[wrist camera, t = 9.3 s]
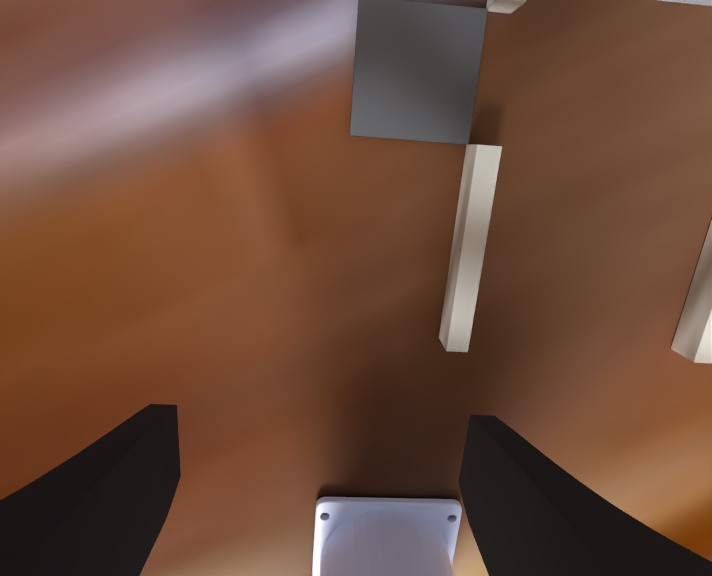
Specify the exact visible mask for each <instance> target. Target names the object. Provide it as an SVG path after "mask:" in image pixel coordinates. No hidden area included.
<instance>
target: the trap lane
mask: <svg viewBox="0 0 712 576" xmlns="http://www.w3.org/2000/svg"><path fill="white" fill-rule="evenodd" d="M525 2H526V0H487V4H486V9H484V8H474V7H464V6H455V5H445V4H436V3H426V2H416V1H407V0H359V3H358V18H357V33H356V48H355V63H354V78H353V93H352V108H351V123H350V135H354V136H366V137H379V138H391V139H404V140H416V141H428V142H441V143H453V144H466V151H465V158H464V165H463V172H462V179H461V186H460V193H459V200H458V207H457V214H456V221H455V228H454V235H453V242H452V249H451V256H450V263H449V270H448V277H447V284H446V291H445V298H444V305H443V312H442V319H441V326H440V333H439V339H440V341H441V343H442V344H443V346H444V348H445V350H446V351H451V352H468V348H469V342H470V336H471V330H472V324H473V318H474V312H475V306H476V300H477V294H478V288H479V282H480V276H481V270H482V264H483V258H484V252H485V246H486V240H487V234H488V228H489V222H490V216H491V210H492V204H493V198H494V192H495V186H496V180H497V174H498V168H499V162H500V156H501V150H502V146H490V145H468V144H469V138H470V131H471V124H472V117H473V110H474V103H475V96H476V89H477V82H478V75H479V68H480V61H481V54H482V47H483V40H484V34H485V27H486V20H487V13H488V11H489V12H498V13H508V14H510V13H512V12H513V11H515V10H516V9H517V8H519V7H520V6H521V5H523V4H524V3H525ZM671 349H672V350H674V351H675V352H677V353H679V354H680V355H682V356H684V357H685V358H687V359H689V360H690V361H692V362H696V363H712V220H711V223H710V226H709V230H708V233H707V236H706V239H705V242H704V245H703V248H702V252H701V255H700V258H699V261H698V264H697V267H696V270H695V274H694V277H693V280H692V283H691V286H690V289H689V292H688V296H687V299H686V302H685V305H684V308H683V311H682V314H681V318H680V321H679V324H678V327H677V330H676V333H675V337H674V340H673V343H672V346H671Z"/></svg>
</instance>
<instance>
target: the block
mask: <svg viewBox="0 0 712 576" xmlns="http://www.w3.org/2000/svg"><path fill="white" fill-rule="evenodd" d="M659 1H669V2H679V3H689V4H698V5H708V6H712V0H659Z"/></svg>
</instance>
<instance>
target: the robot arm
mask: <svg viewBox="0 0 712 576" xmlns="http://www.w3.org/2000/svg"><path fill="white" fill-rule="evenodd" d="M180 476H181V474H180V456H179V438H178V420H177V405H161V404H150V405H148V406H147V407H145V408H144V409H142V410H141V411H139V412H138V413H136V414H135V415H133V416H132V417H130V418H129V419H127V420H126V421H125V422H123V423H122V424H120V425H119V426H117V427H116V428H114V429H113V430H112V431H110V432H109V433H107V434H106V435H104V436H103V437H101V438H100V439H98V440H97V441H96V442H94V443H93V444H91V445H90V446H88V447H87V448H85V449H84V450H82V451H81V452H79V453H78V454H76V455H75V456H73V457H72V458H70V459H68V460H67V461H65V462H64V463H62V464H60V465H59V466H57V467H56V468H54V469H52V470H51V471H49V472H48V473H46V474H44V475H43V476H41V477H40V478H38V479H36V480H35V481H33V482H32V483H30V484H28V485H26V486H25V487H23V488H21V489H20V490H18V491H16V492H14V493H13V494H11V495H9V496H7V497H5V498H4V499H2V500H0V576H139V575H140V573H141V571H142V569H143V567H144V565H145V563H146V561H147V558H148V556H149V554H150V552H151V550H152V548H153V546H154V544H155V541H156V539H157V537H158V535H159V533H160V531H161V529H162V527H163V524H164V522H165V520H166V518H167V515H168V512H169V509H170V506H171V504H172V501H173V498H174V495H175V492H176V488H177V485H178V482H179V479H180ZM459 486H460V490H461V494H462V498H463V503H464V506H465V510H466V514H467V518H468V522H469V524H470V527H471V530H472V532H473V535H474V538H475V540H476V543H477V546H478V548H479V551H480V553H481V556H482V559H483V561H484V564H485V566H486V569H487V571H488V574H489V576H712V562H711V561H709V560H707V559H705V558H703V557H701V556H700V555H698V554H696V553H694V552H692V551H690V550H688V549H687V548H685V547H683V546H681V545H679V544H677V543H675V542H674V541H672V540H670V539H668V538H667V537H665V536H663V535H661V534H660V533H658V532H656V531H654V530H653V529H651V528H649V527H648V526H646V525H644V524H643V523H641V522H640V521H638V520H636V519H635V518H633V517H632V516H630V515H628V514H627V513H625V512H623V511H622V510H620V509H619V508H617V507H616V506H614V505H613V504H611V503H610V502H608V501H607V500H605V499H604V498H602V497H601V496H599V495H598V494H596V493H595V492H594V491H592V490H591V489H589V488H588V487H587V486H585V485H584V484H582V483H581V482H579V481H578V480H577V479H575V478H574V477H573V476H571V475H570V474H569V473H567V472H566V471H565V470H563V469H562V468H561V467H559V466H558V465H557V464H555V463H554V462H553V461H552V460H550V459H549V458H548V457H546V456H545V455H544V454H543V453H541V452H540V451H539V450H538V449H536V448H535V447H534V446H533V445H531V444H530V443H529V442H528V441H526V440H525V439H524V438H523V437H521V436H520V435H519V434H518V433H516V432H515V431H514V430H513V429H511V428H510V427H509V426H507V425H506V424H505V423H504V422H502V421H501V420H499V419H498V418H497V417H495V416H485V415H470V420H469V426H468V432H467V437H466V443H465V449H464V454H463V460H462V466H461V471H460V477H459ZM322 513H328V514H326V515H323V514H322ZM461 514H462V507H461V504H460V503H459V501H457V500H454V499H414V498H363V497H322V498H320V499H318V501H317V503H316V513H315V530H314V547H313V564H312V576H455V575H454V572H453V568H452V563H453V557H454V552H455V546H456V541H457V535H458V530H459V525H460V519H461ZM450 515H453V516H451V517H449V516H450Z"/></svg>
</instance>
